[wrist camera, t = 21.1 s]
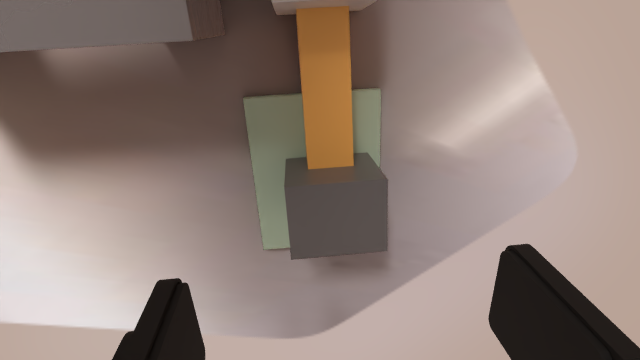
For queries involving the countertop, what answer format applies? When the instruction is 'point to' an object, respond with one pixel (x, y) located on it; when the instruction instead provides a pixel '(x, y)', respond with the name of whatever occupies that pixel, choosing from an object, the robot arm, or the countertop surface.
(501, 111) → the countertop surface
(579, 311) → the robot arm
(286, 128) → the mat
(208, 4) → the block
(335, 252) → the plug
